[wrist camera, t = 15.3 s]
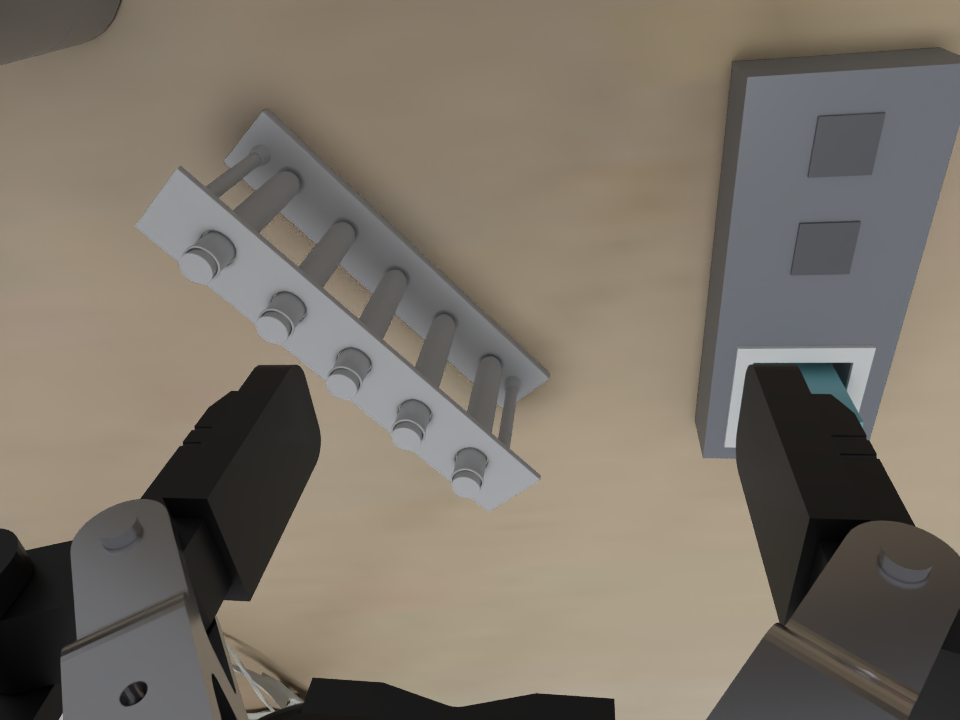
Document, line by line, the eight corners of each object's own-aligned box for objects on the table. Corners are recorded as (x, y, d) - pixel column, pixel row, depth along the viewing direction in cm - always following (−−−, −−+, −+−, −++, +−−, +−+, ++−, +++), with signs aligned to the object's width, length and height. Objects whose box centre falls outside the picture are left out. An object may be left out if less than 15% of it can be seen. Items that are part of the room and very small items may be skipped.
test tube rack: (550, 372, 49) (540, 508, 38) (505, 404, 51) (484, 541, 40) (267, 107, 41) (151, 181, 30) (228, 158, 43) (106, 244, 32)
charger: (746, 394, 46) (774, 476, 39) (755, 342, 44) (785, 419, 37) (809, 394, 45) (848, 477, 39) (821, 341, 43) (864, 420, 37)
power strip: (694, 420, 49) (703, 460, 45) (732, 61, 36) (748, 78, 32) (844, 422, 47) (865, 463, 44) (939, 47, 34) (980, 63, 31)
